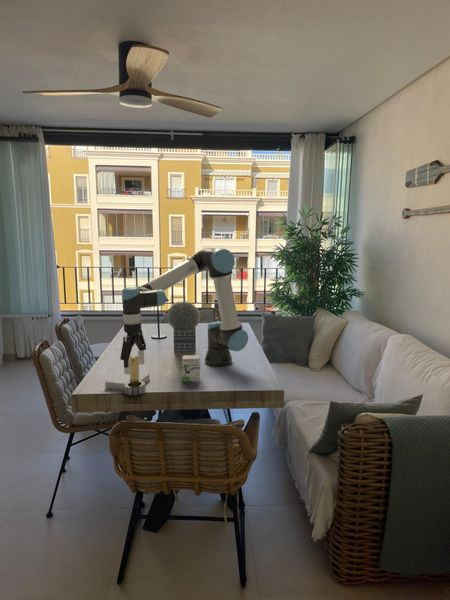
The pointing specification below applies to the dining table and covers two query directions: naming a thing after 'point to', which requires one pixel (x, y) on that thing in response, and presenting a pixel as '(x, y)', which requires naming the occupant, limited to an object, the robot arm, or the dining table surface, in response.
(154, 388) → the dining table surface
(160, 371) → the dining table surface
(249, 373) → the dining table surface
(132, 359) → the pin
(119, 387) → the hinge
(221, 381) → the dining table surface
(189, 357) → the ink box
